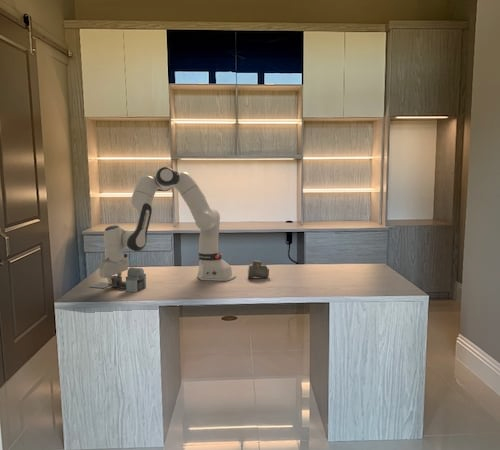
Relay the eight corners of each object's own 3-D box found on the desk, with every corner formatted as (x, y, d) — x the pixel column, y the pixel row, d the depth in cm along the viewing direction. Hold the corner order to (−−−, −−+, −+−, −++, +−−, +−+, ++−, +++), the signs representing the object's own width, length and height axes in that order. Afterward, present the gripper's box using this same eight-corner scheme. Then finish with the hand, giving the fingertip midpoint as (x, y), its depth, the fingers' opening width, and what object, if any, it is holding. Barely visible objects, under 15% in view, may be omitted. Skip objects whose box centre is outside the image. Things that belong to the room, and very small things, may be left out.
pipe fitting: (247, 279, 247) (249, 261, 247) (246, 276, 255) (248, 259, 255) (268, 281, 247) (270, 263, 247) (267, 278, 255) (269, 261, 255)
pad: (114, 284, 241) (114, 283, 241) (103, 288, 233) (103, 287, 233) (101, 283, 244) (101, 282, 244) (89, 287, 236) (89, 286, 236)
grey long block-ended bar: (143, 288, 232) (143, 280, 231) (138, 291, 227) (138, 282, 227) (111, 283, 239) (111, 275, 238) (106, 285, 234) (106, 277, 234)
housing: (146, 287, 234) (145, 266, 232) (136, 292, 225) (135, 270, 224) (136, 286, 236) (135, 265, 234) (126, 291, 227) (125, 269, 226)
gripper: (105, 260, 222) (106, 287, 224) (130, 253, 241) (131, 278, 243) (95, 260, 225) (96, 286, 226) (120, 252, 244) (121, 277, 245)
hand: (114, 282), depth 235 cm, fingers closed on grey long block-ended bar, 4 cm apart
